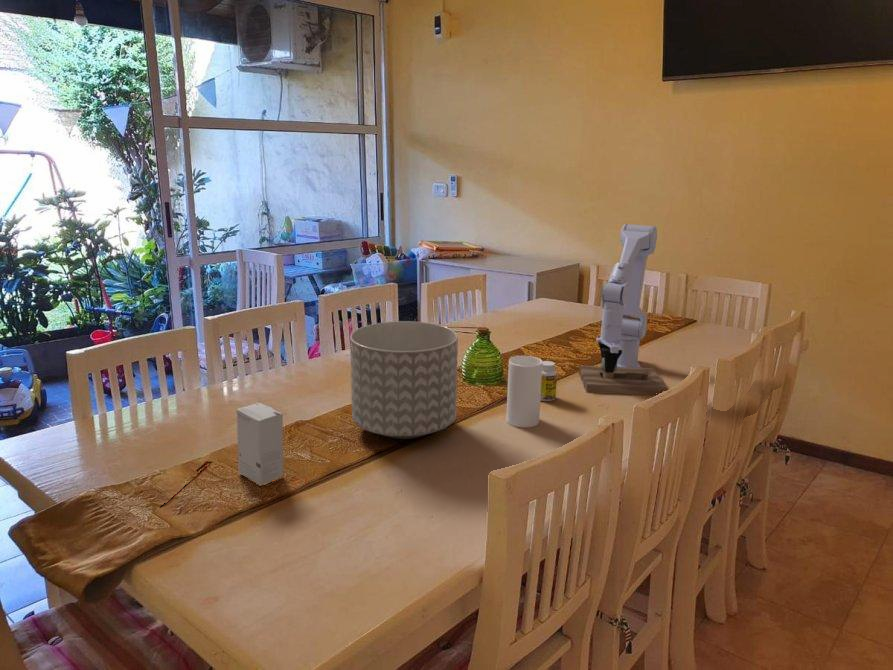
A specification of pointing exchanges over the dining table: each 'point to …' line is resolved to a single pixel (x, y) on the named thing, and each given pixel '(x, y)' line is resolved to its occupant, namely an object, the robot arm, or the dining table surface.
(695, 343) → the dining table surface
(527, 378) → the cup
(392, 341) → the planter
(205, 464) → the pen
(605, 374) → the peg
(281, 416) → the skincare box
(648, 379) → the keyhole board
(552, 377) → the supplement bottle
